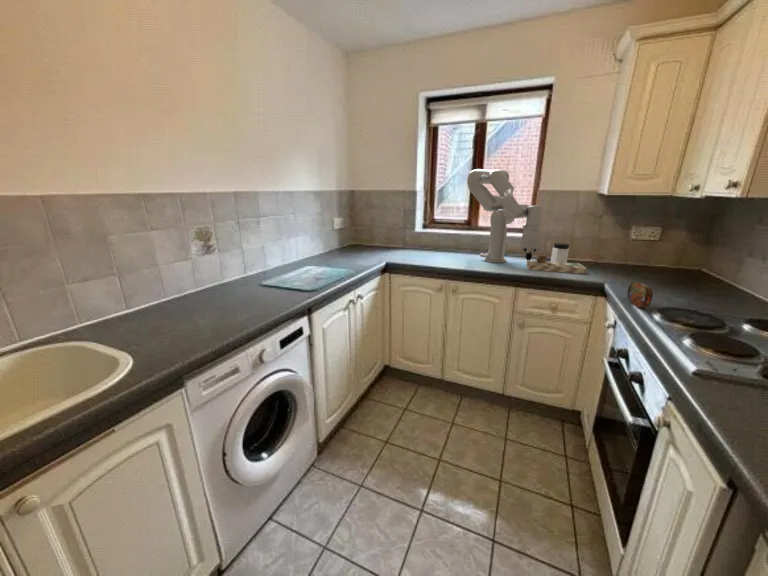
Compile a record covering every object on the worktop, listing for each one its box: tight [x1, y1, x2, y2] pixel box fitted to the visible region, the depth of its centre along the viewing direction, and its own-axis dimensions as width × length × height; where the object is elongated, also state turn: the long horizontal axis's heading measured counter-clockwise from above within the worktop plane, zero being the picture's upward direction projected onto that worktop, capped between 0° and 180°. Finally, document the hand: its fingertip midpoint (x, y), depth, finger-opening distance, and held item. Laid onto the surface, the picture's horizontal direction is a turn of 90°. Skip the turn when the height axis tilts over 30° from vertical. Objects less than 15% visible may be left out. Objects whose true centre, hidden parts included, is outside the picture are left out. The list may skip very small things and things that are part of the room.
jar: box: [549, 242, 570, 263], centre depth 199 cm, size 9×8×12 cm
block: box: [536, 254, 547, 263], centre depth 188 cm, size 4×4×4 cm
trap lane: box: [525, 259, 588, 275], centre depth 185 cm, size 28×13×3 cm, turn 75°
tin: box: [626, 281, 654, 309], centre depth 128 cm, size 15×3×8 cm, turn 163°
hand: (528, 259), depth 190 cm, fingers closed
